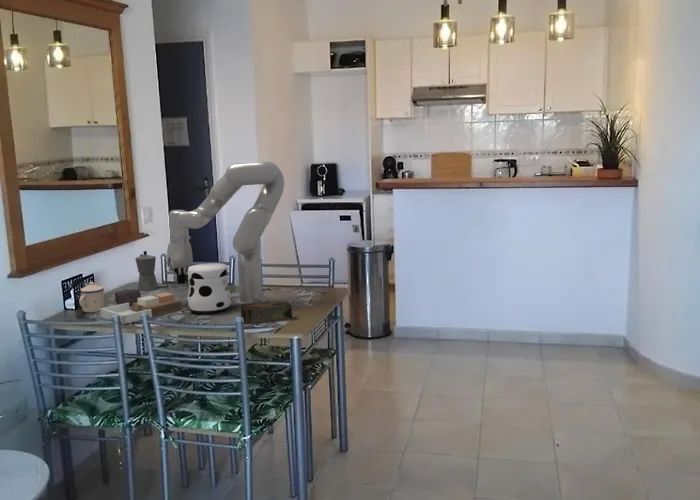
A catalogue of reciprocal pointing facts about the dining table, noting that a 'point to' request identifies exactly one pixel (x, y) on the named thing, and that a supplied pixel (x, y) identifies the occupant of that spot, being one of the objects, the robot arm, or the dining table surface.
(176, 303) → the brown square slab
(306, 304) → the dining table surface
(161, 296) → the terracotta tile
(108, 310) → the tray
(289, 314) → the beverage carton
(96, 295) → the teacup with lid
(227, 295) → the milk container
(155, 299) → the cream tile
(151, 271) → the coffeepot
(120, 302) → the perforated stone tool
